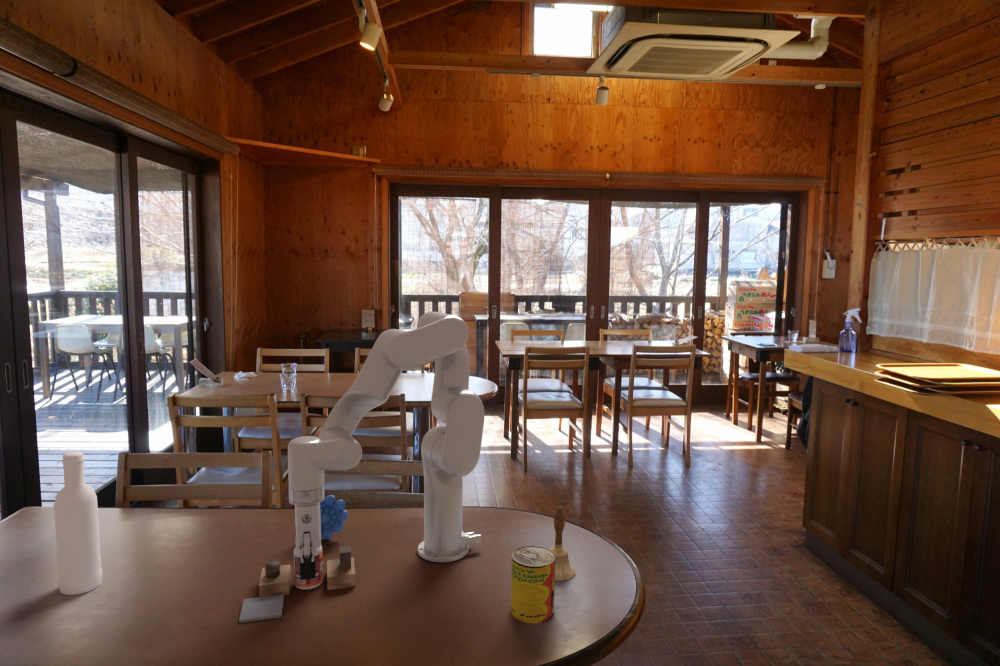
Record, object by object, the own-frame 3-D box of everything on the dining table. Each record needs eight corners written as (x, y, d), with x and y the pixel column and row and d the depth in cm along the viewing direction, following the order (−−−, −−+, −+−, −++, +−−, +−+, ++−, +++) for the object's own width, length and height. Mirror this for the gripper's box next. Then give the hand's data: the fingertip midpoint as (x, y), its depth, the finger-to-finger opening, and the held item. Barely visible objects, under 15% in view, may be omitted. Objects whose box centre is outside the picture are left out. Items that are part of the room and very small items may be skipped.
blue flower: (351, 531, 166) (351, 488, 164) (346, 543, 159) (346, 498, 158) (307, 532, 165) (306, 488, 163) (300, 543, 158) (299, 498, 157)
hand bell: (582, 572, 146) (584, 506, 144) (560, 585, 140) (562, 517, 138) (554, 560, 151) (555, 497, 150) (532, 572, 145) (533, 506, 143)
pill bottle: (326, 585, 138) (325, 537, 137) (298, 593, 134) (297, 543, 133) (318, 574, 143) (317, 527, 142) (290, 581, 140) (289, 533, 138)
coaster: (283, 596, 133) (283, 594, 133) (281, 617, 125) (281, 614, 125) (243, 601, 131) (243, 599, 131) (239, 622, 123) (238, 620, 123)
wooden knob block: (353, 569, 145) (353, 540, 145) (355, 586, 138) (355, 556, 137) (262, 580, 140) (261, 550, 139) (259, 598, 132) (258, 567, 131)
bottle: (98, 573, 142) (90, 445, 138) (106, 586, 136) (99, 454, 133) (55, 586, 136) (46, 453, 133) (63, 600, 131) (53, 461, 127)
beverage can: (541, 628, 123) (542, 571, 122) (502, 614, 128) (503, 559, 126) (561, 607, 130) (562, 553, 129) (524, 595, 135) (525, 542, 134)
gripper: (324, 506, 129) (326, 588, 131) (324, 478, 146) (325, 551, 148) (286, 509, 127) (288, 592, 129) (290, 481, 144) (292, 555, 146)
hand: (308, 570), depth 138 cm, fingers closed on pill bottle, 6 cm apart
